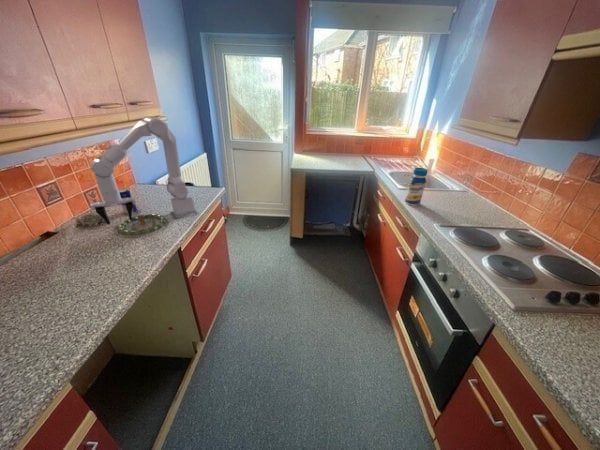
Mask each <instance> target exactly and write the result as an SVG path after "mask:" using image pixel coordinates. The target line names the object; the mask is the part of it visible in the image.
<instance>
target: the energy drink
mask: <svg viewBox="0 0 600 450" xmlns="http://www.w3.org/2000/svg"><path fill="white" fill-rule="evenodd" d="M118 190H119V193H120V196H121V198H131V197H134V195H133V191H132V190H131V188H129V187H125V188H119V189H118ZM121 207H122V210H123V213H124V214H126V215H127V214H128V211H127V208H126V204H122V205H121ZM137 211H138V208H137V205H136V203H133V208H132V214H134V213H136V212H137ZM128 215H129V214H128Z"/></svg>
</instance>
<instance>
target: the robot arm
mask: <svg viewBox="0 0 600 450" xmlns="http://www.w3.org/2000/svg"><path fill="white" fill-rule="evenodd" d="M152 135H153V136H155V137H157V138H158V139H159V140H161V141H162V146H163V150H164V151H163V153H164V155H165V156H164V158H165V164H166V169H167V175H168V177H167V179H166V181H167V184H166V191H167V193H169V194H170V195H169V197H170V202H171V206H172V211H173V215H177V216H182V215H186V214H189V213H194V212H196V208H195V207H196V206H195V204H194V199H193V196H192V194H189V189H188V187H187V186H186V182H185V180H184V179H183V177H182V171H181V164H180V157H179V151H178V145H177V138H176V135H175V134H174V132H173V131H172V129H171V128H170V127H169V125H168V123H167V122H165V121H164V120H162V119H160V118H156V117H152V116H144V117H143V118H142V119H141V120H139V121H138V122H137V123H136V124H135V125H134V126H133V127H132V128H131V129H130V130H129V132H128V133H127V134H126V135H125V136H124V137H123V138H122V139H121V140H120V141H119V142H118V143H112V144H110V145H106V147H105V148H106V149H105V150H104V151H103V152H102V153H101V155H99V154H98V155H97V156H96V159H93V160H91V162H90V165H89V166H90V167H89V169H90V170H91V171H92V172H93V173H94V178H95V180H96V184H97V187H98V189H99V191H100V195H101V197H102V201H101V200H100V201H97V202H92V203H90V204H89V206H90V209H91V210H92V211H93V210H95V213H96V214H98V215H100V216H101V217H102V218H103V219H104V220H105V221H104V222H106V224H107V225H111V220H110V218H109V216H108V214H107V210H106V208H108V207H109V208H111V207H116V206H122V204H126V208H127V211H128V219H130V220H132V217H133V216H132V214H133V213H132V208H133V203H135V204H136V199H135V197H134V196H133V197H131V198H121V196H120V193H119V190H120V189H119V188H118V185H117V182H116V178H115V177H114V174H113V173H114V171H115V170H114V169H115V168H116V167H117V166H118V165H119V164H120V163H121V162H122V161H123V160H124V159H125V158H126V157H127V156H128V150H129V149H130V148H131V147H132V146H133V145H135V144H136V143H137V142H138V141H139V140H140V139H142V138H143V137H151V136H152Z"/></svg>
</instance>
